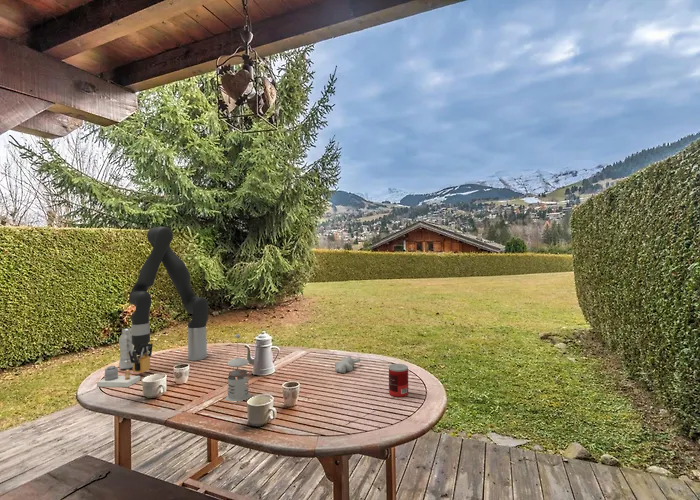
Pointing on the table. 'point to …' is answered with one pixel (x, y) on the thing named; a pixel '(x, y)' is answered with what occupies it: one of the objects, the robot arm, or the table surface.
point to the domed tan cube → (143, 364)
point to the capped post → (111, 373)
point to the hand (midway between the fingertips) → (141, 368)
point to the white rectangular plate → (118, 382)
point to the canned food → (398, 380)
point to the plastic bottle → (125, 349)
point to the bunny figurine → (345, 364)
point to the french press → (238, 380)
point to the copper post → (127, 374)
